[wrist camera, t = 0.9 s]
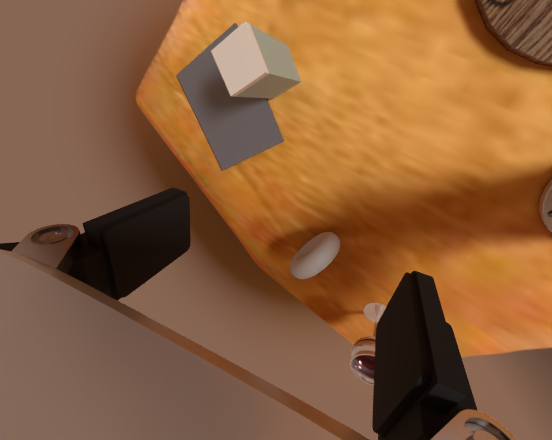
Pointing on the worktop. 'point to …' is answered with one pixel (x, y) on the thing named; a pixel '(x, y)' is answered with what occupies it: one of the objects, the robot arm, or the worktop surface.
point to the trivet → (521, 26)
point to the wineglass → (366, 347)
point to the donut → (315, 255)
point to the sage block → (255, 64)
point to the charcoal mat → (227, 111)
